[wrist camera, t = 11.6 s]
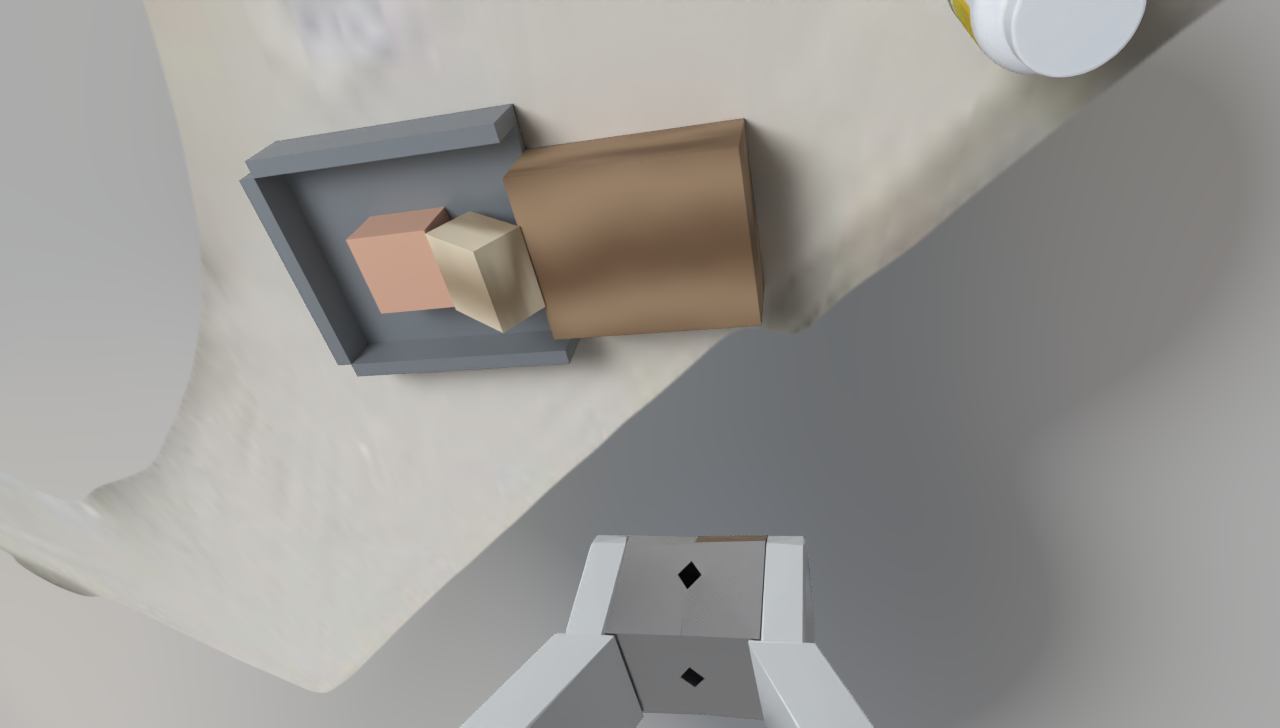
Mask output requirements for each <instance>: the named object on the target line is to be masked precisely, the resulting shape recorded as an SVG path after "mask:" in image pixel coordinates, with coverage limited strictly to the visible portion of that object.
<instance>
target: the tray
mask: <svg viewBox="0 0 1280 728" xmlns="http://www.w3.org/2000/svg"><path fill="white" fill-rule="evenodd" d="M524 151H525V145H524V142H523V139H522V135H521V132H520V129H519V125H518V122H517V119H516V115H515V112H514V108H513V105H512V104H508V105H502V106H496V107H489V108H483V109H477V110H470V111H464V112H458V113H452V114H445V115H439V116H433V117H426V118H420V119H414V120H408V121H401V122H395V123H389V124H383V125H376V126H370V127H364V128H357V129H351V130H345V131H339V132H332V133H326V134H320V135H313V136H307V137H301V138H295V139H288V140H282V141H276V142H274V143H272V144H271V145H269V146H268V147H266V148H265V149H263V150H262V151H260V152H259V153H257V154H255V155H254V156H252V157H251V158H249V159H248V160H246V161H245V162H246V164H247V166H248V168H249V170H250V172H251V173H250V174H248V175H247V176H245V177H244V178H242V179H241V180H239V181H240V183H241V185H242V187H243V189H244V191H245V192H246V194H247V196H248V198H249V200H250V202H251V204H252V205H253V207H254V209H255V211H256V213H257V215H258V217H259V219H260V220H261V222H262V224H263V226H264V228H265V230H266V232H267V233H268V235H269V237H270V239H271V241H272V243H273V245H274V246H275V248H276V250H277V252H278V254H279V256H280V258H281V260H282V261H283V263H284V265H285V267H286V269H287V271H288V273H289V274H290V276H291V278H292V280H293V282H294V284H295V286H296V287H297V289H298V291H299V293H300V295H301V297H302V299H303V301H304V302H305V304H306V306H307V308H308V310H309V312H310V314H311V315H312V317H313V319H314V321H315V323H316V325H317V327H318V328H319V330H320V332H321V334H322V336H323V338H324V340H325V341H326V343H327V345H328V347H329V349H330V351H331V353H332V355H333V356H334V358H335V360H336V362H337V364H338V365H349V364H351V365H352V367H353V369H354V370H355V372H356V374H357V376H372V375H389V374H406V373H422V372H439V371H456V370H473V369H489V368H506V367H523V366H540V365H556V364H569V363H570V361H571V359H572V356H573V354H574V351H575V349H576V347H577V344H578V342H579V339H580V338H572V339H558V340H554V337H553V334H552V331H551V328H550V325H549V322H548V319H547V315H546V312H545V309H544V308H542V309H541V310H539V311H538V312H536V313H534V314H533V315H531V316H530V317H528V318H526V319H525V320H523V321H522V322H520V323H518V324H517V325H515V326H514V327H512V328H510V329H509V330H507V331H506V332H504V333H502V332H500V331H498V330H496V329H494V328H492V327H490V326H488V325H486V324H484V323H482V322H480V321H477V320H475V319H473V318H471V317H469V316H467V315H465V314H463V313H461V312H459V311H457V310H456V309H455V307H449V308H438V309H427V310H416V311H405V312H394V313H383V314H381V312H380V310H379V308H378V306H377V304H376V302H375V300H374V298H373V295H372V293H371V291H370V289H369V287H368V285H367V283H366V281H365V279H364V277H363V275H362V272H361V270H360V268H359V266H358V264H357V262H356V260H355V258H354V256H353V254H352V252H351V250H350V247H349V245H348V243H347V241H346V239H347V238H348V237H349V236H350V235H352V234H353V233H354V232H355V231H356V230H357V229H358V228H359V227H360V226H361V225H362V224H363V223H364V222H365V221H366V220H367V219H368V218H369V217H370V216H378V215H386V214H393V213H401V212H409V211H416V210H424V209H432V208H439V207H445V209H446V212H447V214H448V217H449V219H450V221H451V220H453V219H455V218H457V217H459V216H461V215H463V214H465V213H467V212H468V211H471V212H474V213H478V214H481V215H484V216H487V217H491V218H494V219H497V220H500V221H504V222H507V223H510V224H513V225H517V222H516V219H515V216H514V213H513V210H512V207H511V204H510V201H509V198H508V195H507V191H506V188H505V185H504V182H503V179H502V178H503V177H504V176H505V175H506V173H507V172H508V171H509V170H510V168H511V167H512V166H513V165H514V163H515V162H516V161H517V159H518V158H519V157H520V156H521V154H522V153H523V152H524Z"/></svg>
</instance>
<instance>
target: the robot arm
mask: <svg viewBox="0 0 1280 728" xmlns="http://www.w3.org/2000/svg"><path fill="white" fill-rule="evenodd" d="M642 712H644V713H672V714H698V715H711V716H722V717H733V718H744V719H755V720H764V722H765V725H766V727H767V728H875V727H874V726H873V725H872V723H871V722H870V720H869V719H868V717H867V716H866V714H865V713H864V711H863V710H862V709H861V707H860V706H859V704H858V703H857V701H856V700H855V699H854V697H853V696H852V694H851V692H850V691H849V690H848V688H847V687H846V685H845V684H844V682H843V681H842V679H841V678H840V676H839V675H838V674H837V672H836V671H835V669H834V668H833V666H832V665H831V663H830V662H829V661H828V659H827V658H826V656H825V655H824V653H823V652H822V650H821V649H820V647H819V646H818V644H817V643H815V635H814V615H813V600H812V586H811V577H810V568H809V558H808V548H807V540H806V537H805V536H768V535H767V536H699V537H698V538H696V537H662V536H614V535H613V536H612V535H610V536H609V535H598V536H597V537H596V538H595V540H594V541H593V543H592V545H591V547H590V550H589V554H588V557H587V561H586V564H585V568H584V571H583V574H582V578H581V581H580V585H579V588H578V592H577V595H576V598H575V602H574V606H573V609H572V612H571V616H570V619H569V623H568V626H567V630H566V633H555V635H553V636H552V638H550V639H549V640H548V641H547V642H546V643H545V644H544V645H543V646H542V647H541V648H540V649H539V650H538V651H537V652H536V653H535V654H534V655H533V656H532V657H531V658H530V659H529V660H528V661H527V662H526V663H525V664H524V665H523V666H522V667H521V668H520V669H519V670H518V671H517V672H516V673H514V675H512V676H511V677H510V678H509V679H508V680H507V681H506V682H505V683H504V684H503V685H502V686H501V687H500V688H499V689H498V690H497V691H496V692H495V693H494V694H493V695H492V696H491V697H490V698H489V699H488V700H487V701H486V702H485V703H484V704H483V705H482V706H481V707H480V708H479V709H478V710H477V711H476V712H475V713H474V714H473V715H472V716H470V718H469V719H468V720H466V721H465V722H464V723H463V724H462V725H461V726H460V727H459V728H636V726H637V725H638V723H639V722H640V721H641V719H642V718H643V713H642Z"/></svg>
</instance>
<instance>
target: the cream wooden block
mask: <svg viewBox="0 0 1280 728" xmlns="http://www.w3.org/2000/svg"><path fill="white" fill-rule="evenodd" d="M425 235H426V237H427V240H428V242H429V245H430V247H431V250H432V252H433V254H434V257H435V259H436V262H437V264H438V267H439V269H440V272H441V274H442V277H443V279H444V282H445V284H446V286H447V289H448V291H449V294H450V296H451V299H452V301H453V304H454V306H455V309H456V310H457V311H459V312H461V313H463V314H465V315H467V316H469V317H471V318H473V319H475V320H477V321H480V322H482V323H484V324H486V325H488V326H490V327H492V328H494V329H496V330H498V331H500V332H502V333H504V332H506V331H507V330H509V329H510V328H512V327H514V326H515V325H517V324H518V323H520V322H522V321H523V320H525V319H526V318H528V317H530V316H531V315H533V314H534V313H536V312H538V311H539V310H541V309H542V308H544V307H545V304H544V301H543V298H542V294H541V291H540V288H539V285H538V282H537V279H536V276H535V273H534V270H533V267H532V264H531V261H530V258H529V254H528V251H527V248H526V245H525V242H524V239H523V236H522V233H521V230H520V227H519V226H517V225H513V224H510V223H507V222H504V221H500V220H497V219H494V218H491V217H487V216H484V215H481V214H478V213H474V212H471V211H468V212H467V213H465V214H463V215H461V216H459V217H457V218H455V219H453V220H451V221H449V222H447V223H445V224H443V225H441V226H439V227H437V228H435V229H433V230H431V231H429V232H428V233H426V234H425Z"/></svg>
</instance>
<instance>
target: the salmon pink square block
mask: <svg viewBox="0 0 1280 728" xmlns="http://www.w3.org/2000/svg"><path fill="white" fill-rule="evenodd" d="M449 221H450V219H449V217H448V214H447V212H446V209H445V207H439V208H432V209H424V210H416V211H409V212H401V213H393V214H386V215H378V216H370V217H369V218H368V219H367V220H366V221H365V222H364V223H363V224H362V225H361V226H360V227H359V228H358V229H357V230H356V231H355V232H354V233H353V234H352V235H350V236H349V237H348V238H347V239H346V241H347V243H348V245H349V247H350V250H351V252H352V254H353V256H354V258H355V260H356V262H357V264H358V266H359V268H360V270H361V272H362V275H363V277H364V279H365V281H366V283H367V285H368V287H369V289H370V291H371V293H372V295H373V298H374V300H375V302H376V304H377V306H378V308H379V310H380V312H381V314H383V313H394V312H405V311H416V310H427V309H438V308H449V307H455V306H454V304H453V301H452V299H451V296H450V294H449V291H448V289H447V286H446V284H445V282H444V279H443V277H442V274H441V272H440V269H439V267H438V264H437V262H436V259H435V257H434V254H433V252H432V250H431V247H430V245H429V242H428V240H427V237H426V235H425V234H426V233H428V232H429V231H431V230H433V229H435V228H437V227H439V226H441V225H443V224H445V223H447V222H449Z"/></svg>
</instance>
